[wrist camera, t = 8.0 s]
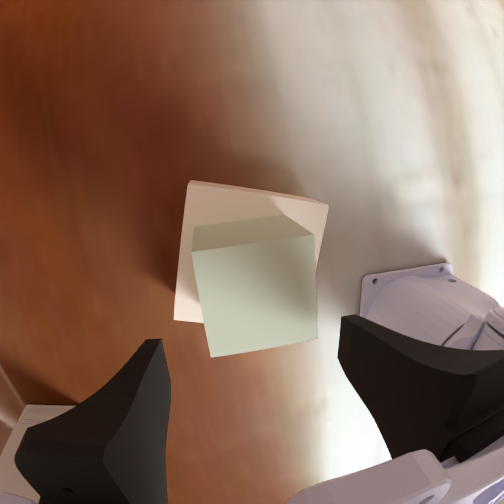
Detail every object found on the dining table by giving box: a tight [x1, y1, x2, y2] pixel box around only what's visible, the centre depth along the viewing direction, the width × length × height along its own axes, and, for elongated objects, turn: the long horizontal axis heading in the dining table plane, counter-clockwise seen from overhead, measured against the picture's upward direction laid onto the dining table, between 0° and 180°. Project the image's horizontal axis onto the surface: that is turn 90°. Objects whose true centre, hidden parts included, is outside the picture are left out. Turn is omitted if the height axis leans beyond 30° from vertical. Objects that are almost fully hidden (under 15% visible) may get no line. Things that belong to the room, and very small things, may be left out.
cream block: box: [174, 180, 329, 323], centre depth 20 cm, size 8×8×4 cm
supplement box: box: [0, 405, 75, 504], centre depth 18 cm, size 7×7×13 cm
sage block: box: [191, 215, 318, 357], centre depth 16 cm, size 5×5×5 cm
